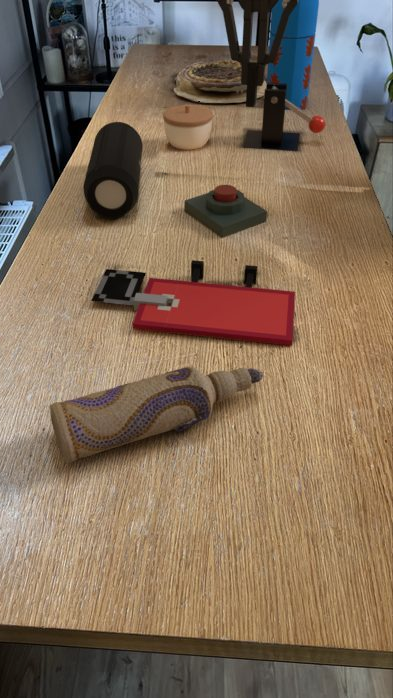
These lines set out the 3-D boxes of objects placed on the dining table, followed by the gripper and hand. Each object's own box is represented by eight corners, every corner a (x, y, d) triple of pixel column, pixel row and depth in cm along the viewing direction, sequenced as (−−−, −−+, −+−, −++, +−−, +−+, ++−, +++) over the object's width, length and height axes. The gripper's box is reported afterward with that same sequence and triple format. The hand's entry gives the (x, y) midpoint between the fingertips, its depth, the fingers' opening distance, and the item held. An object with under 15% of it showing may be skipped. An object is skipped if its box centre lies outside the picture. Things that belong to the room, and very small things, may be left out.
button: (240, 199, 106) (241, 190, 105) (222, 205, 104) (223, 196, 103) (227, 191, 109) (227, 182, 107) (209, 197, 107) (209, 188, 106)
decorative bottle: (67, 479, 65) (57, 439, 60) (53, 431, 70) (43, 391, 66) (275, 413, 72) (280, 373, 68) (248, 373, 77) (251, 334, 73)
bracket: (299, 139, 136) (305, 80, 127) (296, 156, 129) (303, 96, 120) (247, 135, 138) (250, 78, 129) (242, 153, 130) (245, 93, 122)
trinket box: (167, 159, 128) (165, 115, 122) (162, 140, 136) (160, 98, 130) (216, 155, 129) (216, 112, 123) (207, 137, 137) (207, 95, 131)
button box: (266, 221, 107) (268, 201, 105) (222, 238, 103) (222, 217, 100) (227, 196, 115) (227, 177, 112) (184, 211, 110) (183, 191, 108)
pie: (233, 67, 177) (234, 49, 174) (290, 92, 160) (292, 73, 157) (151, 83, 166) (150, 65, 163) (203, 112, 149) (203, 92, 146)
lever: (318, 132, 131) (328, 119, 129) (318, 138, 128) (328, 125, 126) (266, 96, 128) (275, 81, 126) (264, 102, 125) (274, 87, 123)
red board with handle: (109, 267, 96) (82, 325, 85) (108, 252, 94) (79, 310, 83) (294, 284, 92) (291, 348, 81) (297, 269, 90) (293, 332, 80)
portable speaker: (140, 223, 107) (135, 170, 101) (85, 224, 107) (77, 172, 100) (144, 163, 126) (141, 116, 120) (98, 164, 126) (92, 117, 120)
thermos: (256, 105, 153) (263, -6, 136) (283, 95, 158) (293, -12, 142) (288, 115, 147) (299, 1, 130) (315, 105, 152) (329, -6, 136)
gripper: (213, -57, 85) (210, 109, 101) (303, -54, 83) (286, 115, 99) (222, -64, 91) (218, 94, 106) (307, -61, 89) (290, 100, 104)
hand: (251, 104), depth 103 cm, fingers closed
